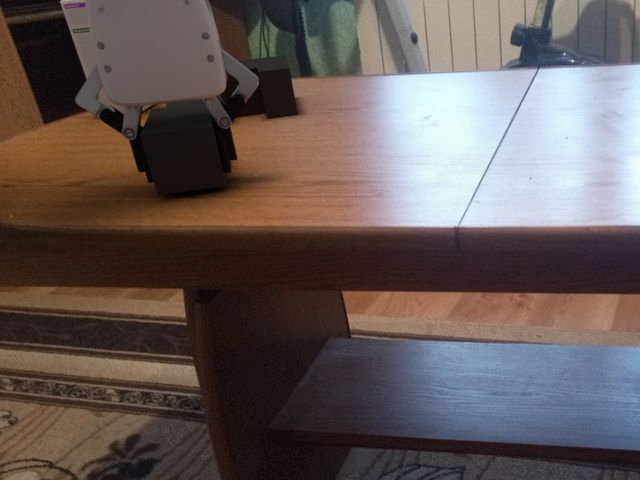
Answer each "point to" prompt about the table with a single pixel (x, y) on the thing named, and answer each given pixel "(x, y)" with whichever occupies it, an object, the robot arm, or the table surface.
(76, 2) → the syrup box
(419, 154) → the table surface
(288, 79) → the block
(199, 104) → the block
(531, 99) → the table surface
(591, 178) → the table surface
